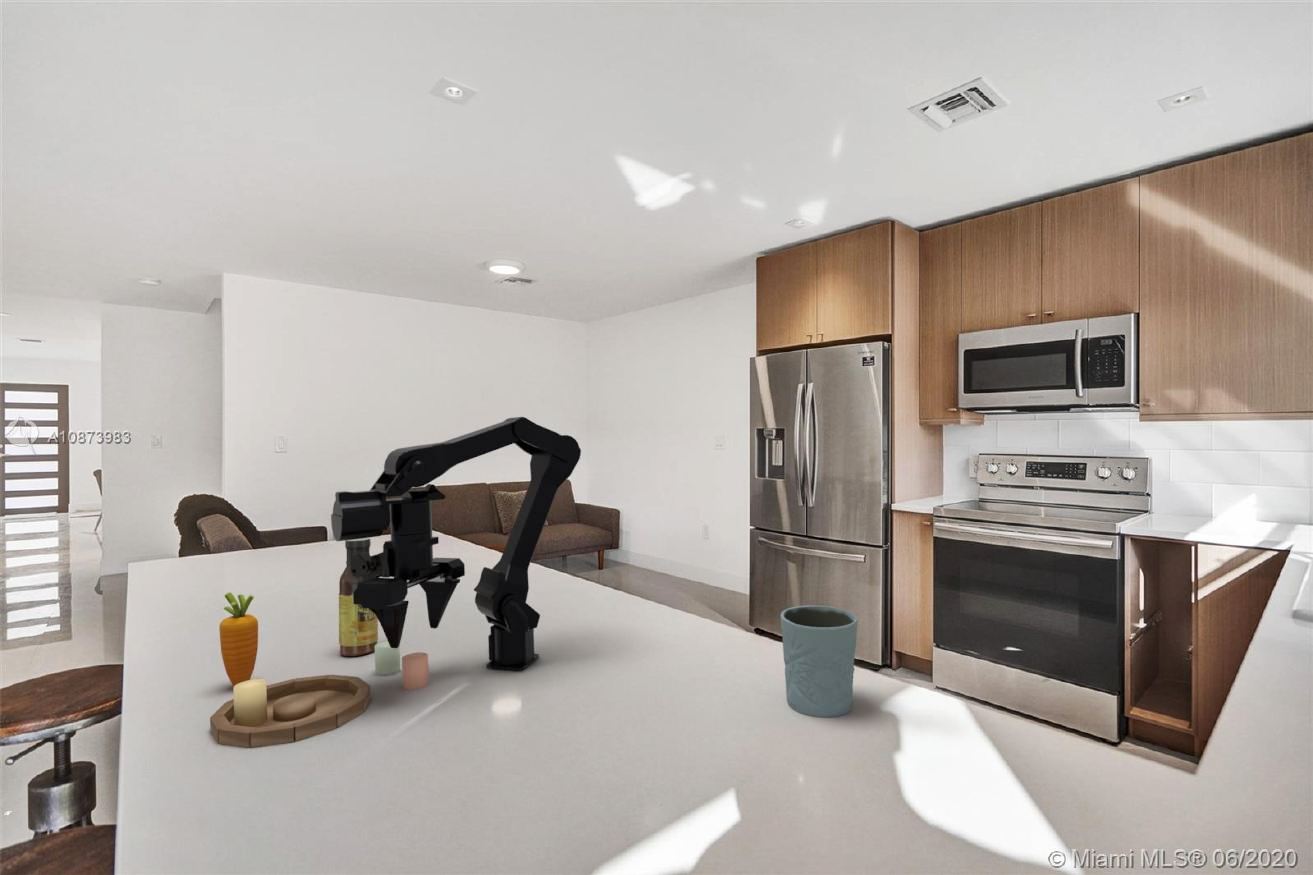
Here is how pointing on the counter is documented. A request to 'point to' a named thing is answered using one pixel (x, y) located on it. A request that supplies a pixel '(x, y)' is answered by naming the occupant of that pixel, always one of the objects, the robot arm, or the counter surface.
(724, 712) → the counter surface
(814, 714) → the teal embossed cup
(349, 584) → the sauce bottle
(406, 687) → the bead coral
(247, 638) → the carrot
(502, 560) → the robot arm
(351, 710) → the groove tray
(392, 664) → the bead sage
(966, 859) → the counter surface
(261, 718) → the bead mustard
